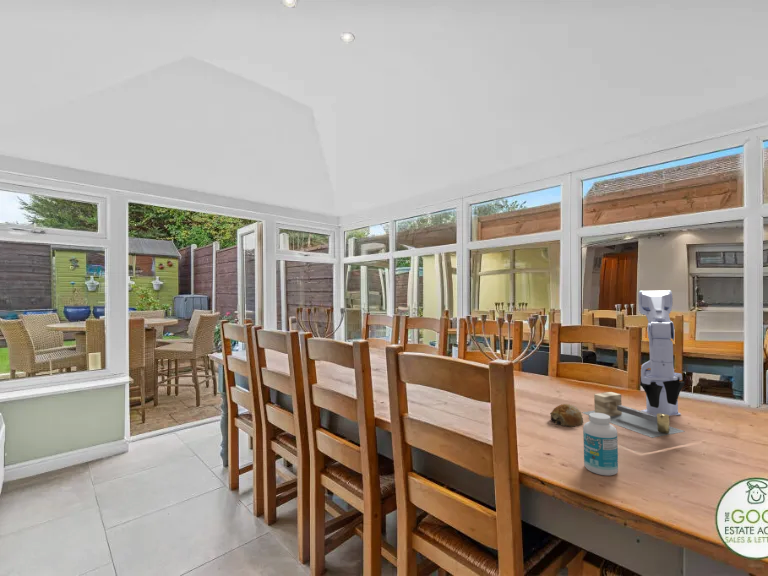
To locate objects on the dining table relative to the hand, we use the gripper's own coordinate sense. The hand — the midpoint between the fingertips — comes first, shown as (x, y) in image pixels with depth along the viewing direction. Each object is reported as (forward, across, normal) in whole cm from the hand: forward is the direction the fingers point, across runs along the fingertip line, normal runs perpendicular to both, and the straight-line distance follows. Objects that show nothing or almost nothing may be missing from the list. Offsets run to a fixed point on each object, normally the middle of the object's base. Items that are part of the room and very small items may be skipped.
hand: (663, 405), depth 117 cm
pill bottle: (+9, -37, -11) cm, 40 cm away
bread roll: (+9, -18, +20) cm, 29 cm away
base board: (+9, 0, +11) cm, 14 cm away
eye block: (+8, 0, +19) cm, 21 cm away
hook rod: (+8, 0, +7) cm, 10 cm away
